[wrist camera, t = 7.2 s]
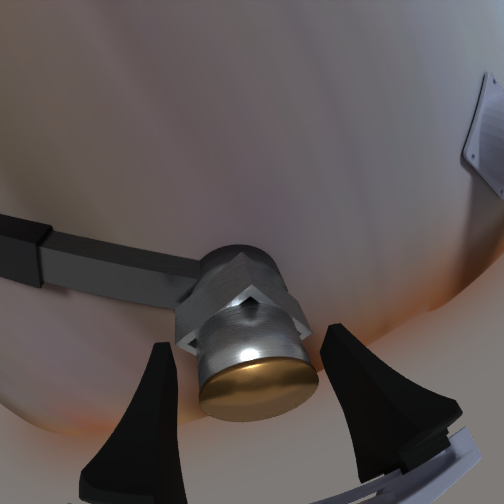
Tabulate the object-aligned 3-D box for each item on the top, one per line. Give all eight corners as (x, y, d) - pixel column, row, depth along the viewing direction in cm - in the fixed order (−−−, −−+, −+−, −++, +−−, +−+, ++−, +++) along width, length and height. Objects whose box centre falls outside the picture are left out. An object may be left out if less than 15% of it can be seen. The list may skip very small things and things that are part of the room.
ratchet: (292, 254, 16) (320, 303, 12) (261, 320, 18) (276, 371, 14) (-39, 187, 9) (-80, 217, 5) (-30, 257, 11) (-59, 295, 7)
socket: (299, 300, 15) (337, 383, 10) (236, 346, 16) (254, 428, 11) (241, 250, 12) (271, 345, 8) (174, 308, 13) (173, 404, 9)
